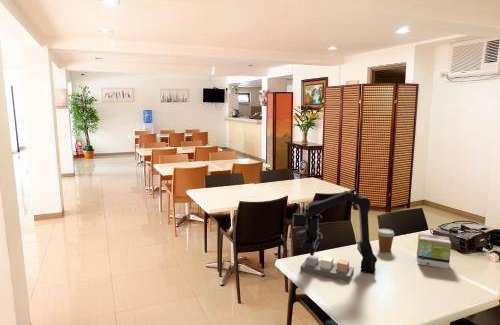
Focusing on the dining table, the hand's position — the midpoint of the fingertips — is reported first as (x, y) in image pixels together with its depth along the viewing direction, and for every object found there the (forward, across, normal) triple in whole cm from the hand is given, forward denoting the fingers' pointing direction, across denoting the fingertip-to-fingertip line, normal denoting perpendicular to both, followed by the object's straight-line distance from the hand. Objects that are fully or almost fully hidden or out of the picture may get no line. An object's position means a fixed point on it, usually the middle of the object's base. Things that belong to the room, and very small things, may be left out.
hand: (311, 255), depth 183 cm
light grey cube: (+6, 0, 0) cm, 6 cm away
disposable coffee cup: (+8, -44, +32) cm, 55 cm away
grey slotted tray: (+8, 0, +8) cm, 11 cm away
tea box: (+8, -36, +57) cm, 68 cm away
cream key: (+5, 0, +8) cm, 10 cm away
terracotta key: (+5, 0, +16) cm, 17 cm away
